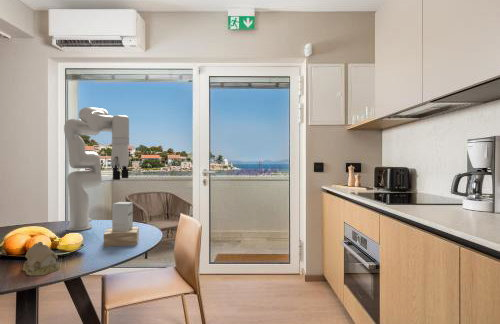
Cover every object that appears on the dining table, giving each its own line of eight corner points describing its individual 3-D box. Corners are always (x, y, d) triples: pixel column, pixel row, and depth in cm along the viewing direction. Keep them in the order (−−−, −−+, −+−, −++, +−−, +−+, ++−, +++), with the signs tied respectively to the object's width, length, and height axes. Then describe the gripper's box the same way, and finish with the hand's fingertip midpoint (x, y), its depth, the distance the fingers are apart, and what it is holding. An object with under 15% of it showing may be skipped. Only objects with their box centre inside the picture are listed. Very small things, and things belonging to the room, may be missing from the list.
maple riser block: (108, 240, 170) (108, 227, 170) (138, 238, 173) (138, 226, 173) (103, 247, 156) (103, 234, 156) (136, 245, 160) (136, 232, 160)
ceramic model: (66, 269, 127) (66, 241, 127) (34, 278, 117) (34, 248, 117) (45, 262, 134) (44, 236, 134) (13, 271, 125) (12, 243, 124)
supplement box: (127, 231, 162) (127, 203, 162) (111, 231, 162) (111, 203, 162) (133, 227, 170) (133, 201, 169) (117, 227, 170) (117, 201, 169)
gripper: (120, 142, 173) (120, 177, 173) (104, 141, 155) (104, 180, 156) (135, 142, 172) (135, 177, 173) (121, 141, 155) (121, 180, 156)
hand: (120, 178), depth 164 cm, fingers open, 9 cm apart
